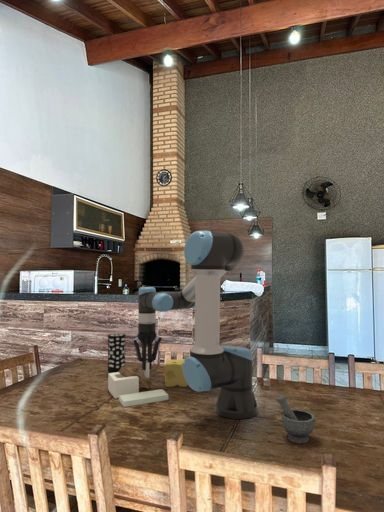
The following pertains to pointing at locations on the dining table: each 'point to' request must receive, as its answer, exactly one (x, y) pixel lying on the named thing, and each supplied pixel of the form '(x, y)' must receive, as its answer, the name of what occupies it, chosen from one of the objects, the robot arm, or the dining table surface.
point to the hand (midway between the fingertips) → (146, 377)
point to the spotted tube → (116, 352)
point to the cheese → (174, 373)
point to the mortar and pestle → (296, 422)
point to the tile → (128, 373)
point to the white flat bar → (143, 397)
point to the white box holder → (122, 384)
